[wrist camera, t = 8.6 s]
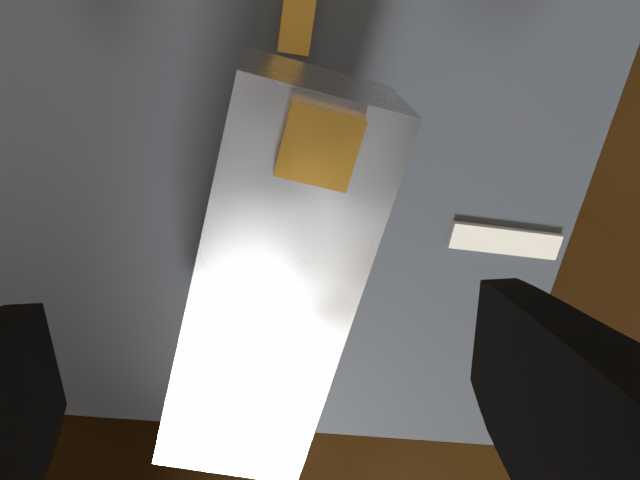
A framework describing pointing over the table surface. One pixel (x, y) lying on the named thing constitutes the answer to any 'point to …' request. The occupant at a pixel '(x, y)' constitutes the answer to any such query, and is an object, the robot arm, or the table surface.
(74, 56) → the latch plate
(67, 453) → the table surface
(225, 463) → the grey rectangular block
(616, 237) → the table surface
